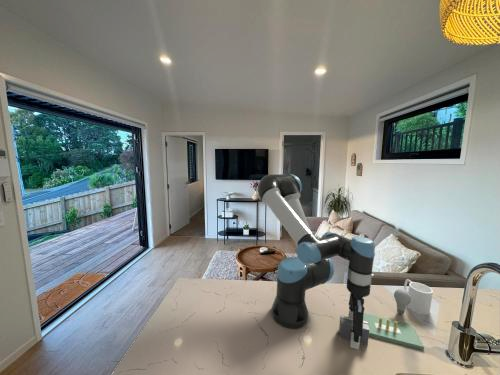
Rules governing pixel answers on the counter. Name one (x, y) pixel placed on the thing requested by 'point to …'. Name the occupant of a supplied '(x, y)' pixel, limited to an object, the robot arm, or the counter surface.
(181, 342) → the counter surface
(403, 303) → the lightbulb
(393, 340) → the board
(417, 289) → the cup
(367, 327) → the block
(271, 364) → the counter surface
